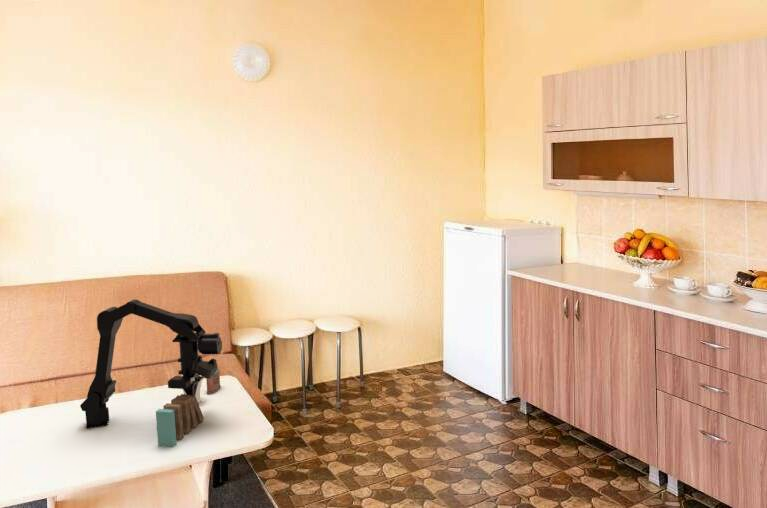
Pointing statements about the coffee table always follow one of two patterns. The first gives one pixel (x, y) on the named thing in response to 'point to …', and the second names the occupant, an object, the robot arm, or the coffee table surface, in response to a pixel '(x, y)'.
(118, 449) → the coffee table surface
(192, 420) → the brown wooden plank
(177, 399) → the brown wooden block
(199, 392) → the cup
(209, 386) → the lighter
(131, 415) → the coffee table surface
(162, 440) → the tile
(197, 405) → the tile
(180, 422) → the tile
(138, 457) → the coffee table surface
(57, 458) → the coffee table surface
